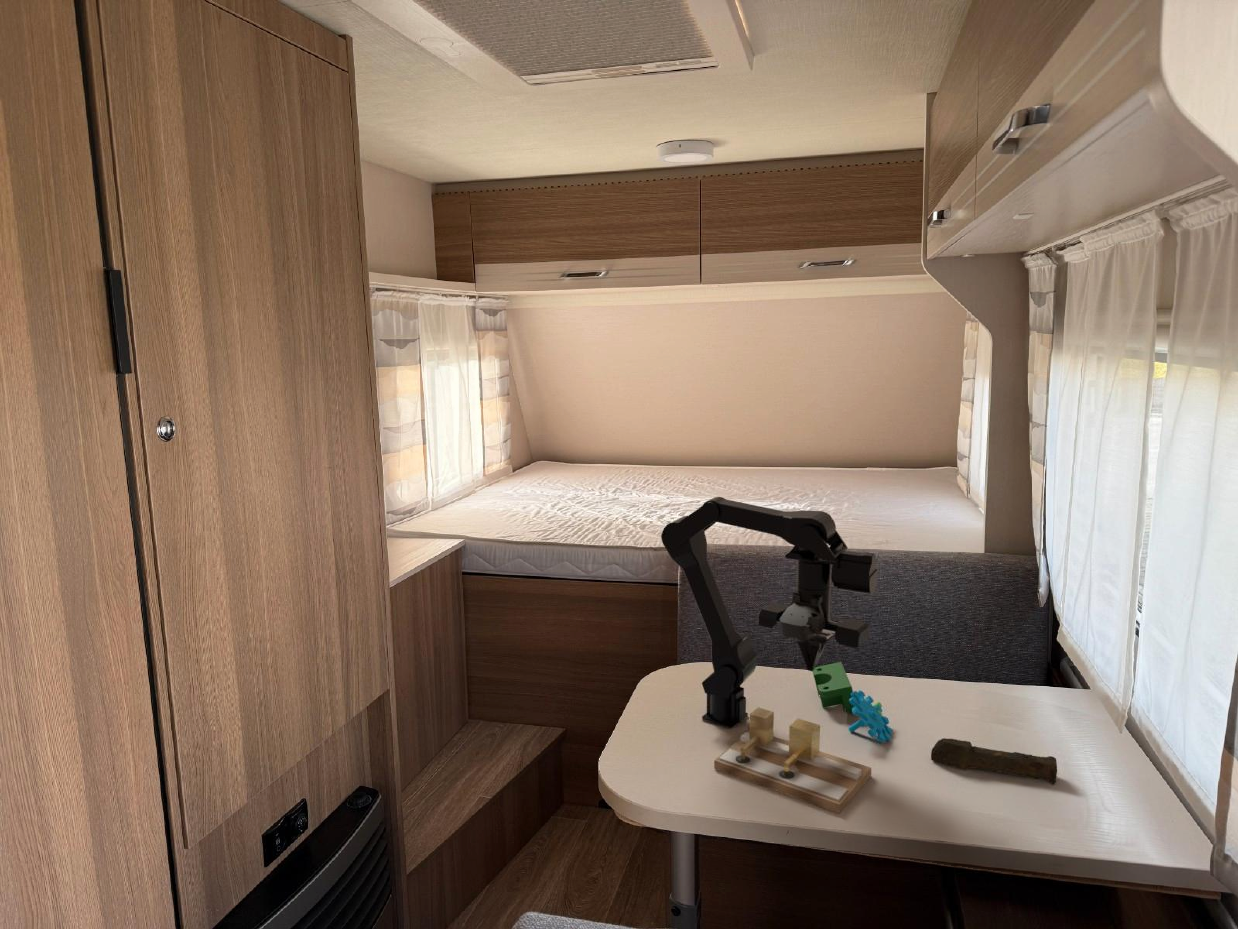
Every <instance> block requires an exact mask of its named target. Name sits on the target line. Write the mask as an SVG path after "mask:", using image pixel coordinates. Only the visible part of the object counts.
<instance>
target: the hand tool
mask: <svg viewBox="0 0 1238 929" xmlns="http://www.w3.org/2000/svg"><path fill="white" fill-rule="evenodd" d="M930 760H931V761H932V762H934V763H937V764H940V765H943V766H945V767H949V768H955V769H958V770H962V771H968V770H969V769H978V770H985V771H991V772H994V773H995V772H997V773H998V772H999V773H1003V774H1004V773H1005V774H1009V775H1015V776H1022V777H1025V778H1027V777H1028V778H1031V779H1036V780H1039V779H1040V780H1046V781H1048V782H1050V784H1052V785H1053V786H1054V785H1055V783H1056V781H1057V775H1058V764H1057V762H1058V761H1057V758H1056V757H1054V756H1039V755H1033V754H1026V753H1022V752H1017V751H1014V752H1010V751H1003V750H996V749H992V748H991V749H989V748H984V747H981V746H980V747H979V746H975V745H974V746H973V745H972V742H971V741H968V740H960V739H956V738H955V739H954V738H945V737H944V738H941V739H939V740H937V742H936V743H935V744H934V746H933V747H932V749H931V752H930Z"/></svg>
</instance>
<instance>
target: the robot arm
mask: <svg viewBox="0 0 1238 929" xmlns="http://www.w3.org/2000/svg"><path fill="white" fill-rule="evenodd" d="M716 523H718V524H719V523H720V524H723V525H729V526H733V527H737V528H740V529H741V528H742V529H745V530H751V531H755V532H760V533H765V534H769V535H773V536H776V537H778V538H781V540H782V539H783V541H785V542H786V543H788V544H790V545H792V546H793V548H792V549H791V550H790V551H788V552H787V553H786V554H785V555H784V558H785V559H787V560H788V559H789V560H795V561H796V590H795V591H793V593H792V599H791V600H792V601H791V603H790V605H786V604H782V603H777V602H774V601H773V602H771V603H769V604H768V605H766V606H764V607H763V608H761V609H760V610H759V611H758V613H757V617H756V618H757V625H758V626H760V627H764V628H768V629H773V628H775V626H777V625H778V623H780V629H781V634H782V637H784V638H792V639H793V640H795V642H796V643H797V645H798V648H799V649H800V652H801V655H802V658H803V660H804V663H805V667H806V670H807V671H808V672H812V671H813V670H814V669H815V667H817V666H818V663H819V660H820V658H821V656H822V653H823V652H824V649H825V648H826V645H828V644H829V643H830V642H831V641H833V640H835V641H836V642H837V643H838V645H841V646H845V647H849V648H853V649H855V648H856V649H857V648H859V647H860V646H862V645H863V644H864V643H865V642H867V641H868V640H869V639H870V638H871V628H870V626H869V625H868V623H867V622H866V621H861V620H857V619H853V618H846V619H845V620H843V622H841V623H839V622H835V621H831V620H830V619H831V618H833V611H832V610H831V597H832V596H834V589H833V588H831V587H832V585H831V584H832V583H833V586H834V587H835V588H837V590H839V591H846V592H852V593H858V594H864V595H865V594H866V595H870V596H871V595H872V596H873V595H874V594H875V591H876V589H877V584H878V578H879V569H878V566H877V561H876V554H875V553H873V552H857V551H851V550H849V551H848V549H849V548H848V546H847V544H846V543H845V541H844V540H843V538H842V536H840V533H839V532H838V531H837V527H836V523H835V520H834V519H833V517H832V516H831V515H830V514H829V513H828V512H825V511H823V510H792V511H791V510H790V511H788V510H787V511H784V510H778V509H775V508H769V507H765V506H760V505H755V504H750V503H745V502H741V501H737V500H736V501H735V500H731V499H726V498H724V497H722V496H715V497H712V498H711V499H709V500H706V501H705V502H704V503H703V504H702V505H701V506H700V507H698V508H697V509H696V510H694V511H693V512H691V513H690V514H689V515H684V516H682V517H679V518H677V519H675V520H674V521H671V522H670V523H667V524H666V525H665V527H663V530H662V531H661V532H662V533H661V534H660V535H661V536H660V540H661V542H662V544H663V547H664V548H665V550H666V552H667V553H668V555H669V556H670V558H671V560H672V561H673V562H675V563H676V564H677V565H678V566H679V568H681V569H682V571H683V573H684V576H685V578H686V580H687V584H688V586H689V588H690V591H691V594H692V596H693V599H694V600H695V603H696V607H697V608H698V610H699V614H700V615H701V619H702V622H703V623H704V627H705V629H706V632H707V633H708V636H709V639H710V643H711V648H710V649H711V660H710V661H711V664H712V668H713V672H712V673H710V674H709V675H708V676H707V677H705V679H704V680H703V681H702V682H701V685H702V688H703V692H704V693H705V694H706V713H704V714H703V715H702V716H701V719H702V720H703V721H706V722H709V723H713V724H715V725H718V726H721V727H725V728H728V729H733V728H735V727H736V726H737V725H739V724H740V723H741V722H742V721H743V720H745V719H746V718H747V717H748V716H749V714H748V712H747V699H746V698H747V697H746V696H745V688H744V687H742V686H741V685H742V684H743V683H745V682H746V680H747V679H748V678H749V677H750V676H751V675H752V674H753V673H754V672H755V670H756V668H757V658H758V653H757V652H756V651H755V650H754V647H753V643H752V640H751V637H750V636H746V637H744V638H743V637H742V636H741V635H740V634H739V633H738V632H737V631H736V630H735V627H734V625H733V623H732V620H731V617H730V615H729V612H728V610H727V607H726V604H725V602H724V600H723V598H722V595H721V592H720V590H719V587H718V585H717V582H716V580H715V577H714V574H713V573H712V570H711V567H710V564H709V561H708V556H707V555H708V554H707V553H708V541H707V537H706V533H705V531H707V530H709V529H710V528H711V527H712V526H714V525H715V524H716ZM831 582H832V583H831Z"/></svg>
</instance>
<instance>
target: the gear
mask: <svg viewBox="0 0 1238 929" xmlns="http://www.w3.org/2000/svg"><path fill="white" fill-rule="evenodd" d="M851 696H852V698H850V699H849V702H850V703H851V704H852V705H853V706H854V708H852V714H853V715H854V716H857V717H859V719H858V720H857V721H856V722H854V723H853V724H851V725H849V727H848V728H847V729H848V731H849V732H850V733H854V732H855V731H856V730H857V729H860V727H861V728H864V727H865V726H866V727H868V728H869V730H868V731H867V734H868V735H869V736H870V737H871V739H872V738H874V737H876V740H877V741H878V743H884V742H888V741H891V740H892V736H891V734H892V733H893V729H892V728H891V727H889V724H890V721H889V718H888V717H887V716H883V709H882V707H883V705H882V703H881V702H879V701H878V702H876V703H875V704H872V703H874V701H875V700H874V699H873V697H872V696H870V695H867V696H866V694H865V692H864V691H862V690H861V689H860V690H858V691H856V690H855V691H853V692H852V693H851ZM865 696H866V697H865Z"/></svg>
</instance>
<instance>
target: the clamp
mask: <svg viewBox="0 0 1238 929" xmlns="http://www.w3.org/2000/svg"><path fill="white" fill-rule="evenodd" d="M811 672H812V675H813V678H814V683H815V686H816V690H817V694H818V696H819V695H820V696H819V699H820V703H821V706H822V708H823V707H826V708H831V707H836V706H839V705H842V706H843V709H844V711H845V714H847V713H851V712H852V708H854V706H853V705H852V704H851V703H850V702H849V699H850V698H852V696H851V693H852V692H854V691H853V686H852V684H851V681H850V679H849V676H848V675H847V673H846V670H845V668H844V665H843V663H842V661H837V662H834V663H829V664H825V665H820V666H816V667H815V669H814V670H813V671H811ZM852 713H853V712H852Z"/></svg>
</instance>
